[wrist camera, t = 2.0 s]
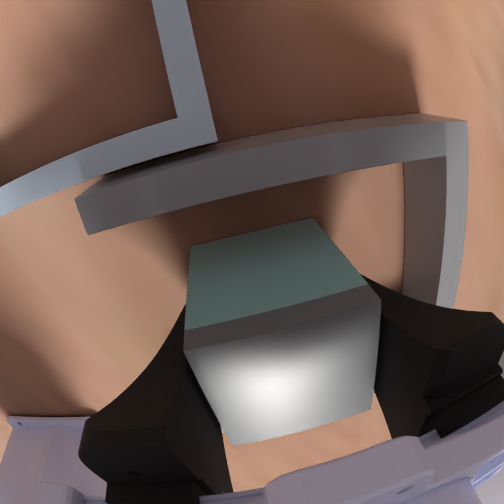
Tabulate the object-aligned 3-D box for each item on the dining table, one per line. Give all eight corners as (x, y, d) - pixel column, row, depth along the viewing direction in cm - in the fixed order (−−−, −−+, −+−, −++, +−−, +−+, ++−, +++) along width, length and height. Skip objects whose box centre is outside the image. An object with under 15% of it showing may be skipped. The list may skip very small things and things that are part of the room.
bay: (195, 393, 16) (196, 437, 14) (103, 176, 11) (74, 199, 8) (413, 333, 17) (438, 365, 14) (420, 113, 11) (467, 121, 9)
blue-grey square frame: (-12, 217, 11) (-36, 234, 9) (-48, 15, 6) (-72, 11, 4) (216, 135, 11) (218, 141, 9) (165, -94, 6) (160, -118, 4)
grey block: (221, 338, 15) (232, 446, 10) (190, 246, 13) (183, 351, 7) (322, 313, 15) (370, 409, 10) (311, 217, 13) (381, 300, 7)
